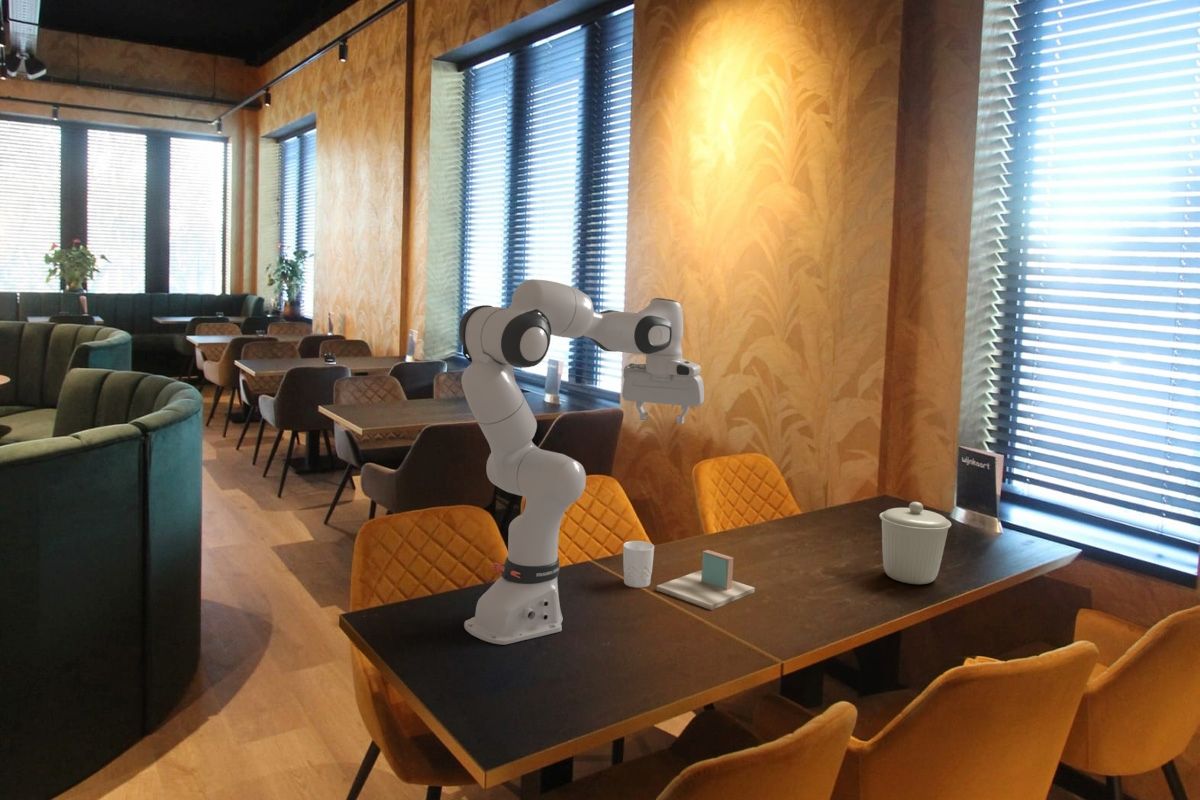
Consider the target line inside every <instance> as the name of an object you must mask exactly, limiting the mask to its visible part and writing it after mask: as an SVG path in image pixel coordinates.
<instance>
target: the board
mask: <svg viewBox="0 0 1200 800" xmlns="http://www.w3.org/2000/svg"><path fill="white" fill-rule="evenodd" d="M701 576H702V569H701V570H700V569H699V570H698V571H694V572H691V573H689V574H686V575H683V576H681V577H677V578H674V579H671V580H669V581H666V582H663V583H660V584H658V585H656V591H657V592H661V593H663V594H666V595H668V594H669V596H671V597H674V598H677V599H679V600H682V601H686V602H688V603H691V604H693V605H696V606H699V607H702V608H704V609H706V610H710V611H713V610H715V609H717V608H720V607H723V606H725V605H727V604H730V603H732V602H734V601H735V602H736V601H737V600H740V599H742V598H744V597H746V596H749V595H752V594H754V593H755V589H756V587H754V586H751V585H747V584H744V583H742V582H738V581H735V580H732V589H729V590H724V589H721V588H718V587H715V586H712V585H710V584H707V583H704V582H701Z"/></svg>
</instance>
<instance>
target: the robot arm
mask: <svg viewBox="0 0 1200 800" xmlns="http://www.w3.org/2000/svg"><path fill="white" fill-rule="evenodd" d="M458 326H459V329H458V333H459V340H460V343H461V345H462V355H463V357H464V359H466V360H467V361H468V362H470V364H468V366H467V367H466V368H465V369H464V370H463V373H462V375H461V379H460V380H461V387H462V390H463V393H464V396H465V399H466V401H467V404H468V407H469V409H470V411H471V413H472V415H473V417H474V419H475V421H476V423H477V424H478V426H479V428H480V429H481V431H482V433H483V435H484V437H485V440H486V441H487V443H488V445H489V448H490V451H491V453H490V454H489V456H488V458H487V460H486V475H487V479H488V481H490V483H492V484H493V485H494V486H496V487H498V488H499V489H501V490H503V491H505V492H507V493H509V494H513V495H517V496H521V497H524V498H525V505H524V509H523V512H522V513H521V514H519V515H517V516H516V517H514V519H512V521H511V522H510V523H509V526H508V537H507V538H508V539H507V540H508V542H507V545H508V546H507V548H508V549H507V556H506V559H505V560H504V564H503V563H500V562H498V561H495V562H494V563H493V564H492V570H493V571H494V572H497V573H498V574H500V577H499V578H498V579H496V581H494V583H493V584H492V585H491V586H490V587H489V588H488V589H487V590H486V592H484V593H483V594H482V595H481V597H480V596H479V599H478V601H477V603H476V607H475V614H474V616H473V617H471V618H470V619H467V620H465V621H464V623H463V627H464V629H465V630H466V632H467V633H469V634H470V635H471V636H473V637H476V638H478V639H480V640H481V641H484V642H488V643H491V644H496V645H508V644H514V643H518V642H521V641H525V640H531V639H535V638H540V637H543V636H547V635H551V634H555V633H556V634H557V633H559V632H562V631H563V629H562V627H563V626H562V622H563V619H564V618H563V615H562V611H561V610H562V608H561V606H560V597H559V595H560V594H559V588H558V587H559V586H558V585H559V584H558V576H560V558H559V556H558V554H559V553H558V552H559V539H560V538H559V537H560V527H561V524H562V523H561V522H562V520H563V517H564V515H565V512H566V511H567V510H568V508H569V507H570V506H571V505H573V504H574V503H576V502H577V501H578V500H579V498H580V497H581V496H582V495H583V493H584V491H585V488H586V485H587V484H586V483H587V474H586V470H585V468H584V466H583V465H582V464H581V463H580V462H579V461H577V460H575V459H574V458H572V457H570V456H568V455H566V454H564V453H559V452H555V451H550V450H545V449H541V448H540V447H538V446H537V445H536V444H535V443H534V442H533V438H534V437H535V434H536V432H537V428H538V423H537V419H536V418H535V415H534V413H533V411H532V410H531V407H530V405H529V404H528V402H527V400H526V397H525V396H524V394H523V392H522V390H521V388H520V386H519V385H518V383H517V382H516V377H515V374H514V368H515V367H516V368H521V369H522V368H524V369H526V368H532V367H536V366H537V365H539V364H540V363H541V362H542V361H543V360H544V358H545V357H546V356H547V353H548V351H549V348H550V345H551V336H556V337H561V338H568V339H569V338H570V339H573V338H574V339H575V338H576V339H577V338H578V339H579V338H582V337H585V338H588V339H589V340H591V341H592V342H593V343H594V344H595V345H596V346H597V347H598V348H599V349H600V350H603V351H604V352H613V353H614V352H619V353H626V354H627V353H628V354H636V355H644V356H645V363H629V364H627V365H625V367H624V368H623V373H622V375H623V379H624V381H623V385H622V393H621V394H622V395H621V396H622V399H623V400H624V401H627V402H635V407H636V409H637V411H638V413H639V421H647V420H648V415H649V412H647V411H645V409H644V407H643V406H644V405H645V403H650V404H659V405H660V404H662V405H673V406H681V407H680V408H681V410H682V412H681V414H679V415H677V416H676V424H684V423H685V417H686V414H687V413H688V412H689V410H690V407H700V406H702V405H703V403H704V401H705V388H704V385H705V384H704V379H703V378H702V375H701V376H700V374H701V371H702V367H701V365H699V364H698V363H695V362H692V361H690V360H688V359H685V358H683V349H682V340H683V338H684V314H683V308H682V304H681V303H680V302H678V301H676V300H674V299H668V298H660V297H656V298H651V299H650V302H649V304H647V306H646V307H645V308H642V310H640V311H639V310H638V311H637V312H630V311H629V312H628V311H619V310H615V309H608V310H603V311H600V312H597V311H596V312H595V310H594V304H593V301H592V298H591V297H590V296H589V295H588V294H586V293H585V292H583V291H582V290H580V289H577V288H576V287H572V286H570V285H567V284H563V283H560V282H556V281H553V280H546V279H527V280H525V281H522V282H520V283H519V285H518V286H517V287H516V288H515V289H514V292H513V294H512V298H511V304H510V305H509V306H508V307H499V306H493V305H490V304H489V305H487V304H484V305H477V306H473V307H471V308H469V309H468V310H467V311H466V312H465V313H464V314H463V315H462V316H461V319H460V321H459V325H458Z"/></svg>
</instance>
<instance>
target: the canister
mask: <svg viewBox="0 0 1200 800" xmlns="http://www.w3.org/2000/svg"><path fill="white" fill-rule="evenodd" d="M878 517H879V519H880V521H881V540H882V541H881V542H882V543H881V544H882V549H881V550H882V565H883V570H884V572H885V574H886V575H887V576H888V577H889V578H891V579H892V580H894V581H898V582H900V583H905V584H908V585H909V584H911V585H926V584H930V583H932V582H933V581H935V580H936V578H937V576H938V574H939V572H940V567H941V562H942V560H943V555H944V550H945V546H946V541H947V537H948V531H949V529H950V528H951V527H952V522H951V521H950V520H949V519H947V518H946V517H945V516H943V515H942V514H940V513H937V512H935V511H931V510H926V509H924V505H923V504H922V503H921V502H918V501H912V502H910V503H909V504H908V507H894V508H893V507H892V508H889V509H886V510H885V511H883V512H881V513H879V516H878Z"/></svg>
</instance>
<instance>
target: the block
mask: <svg viewBox="0 0 1200 800" xmlns="http://www.w3.org/2000/svg"><path fill="white" fill-rule="evenodd" d="M734 559H735V558H734V557H732V556H730V555H726V554H722V553H719V552H716V551H712V550H710V549H706V550H703V551H702V561H701V562H702V563H701V570H702V576H701V582H704V583H707V584H710V585H712V586H715V587H718V588H721V589H724V590H729V589H732V581H733V576H734V575H733V573H734Z"/></svg>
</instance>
